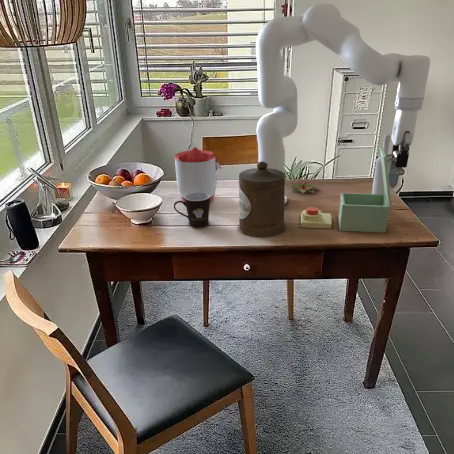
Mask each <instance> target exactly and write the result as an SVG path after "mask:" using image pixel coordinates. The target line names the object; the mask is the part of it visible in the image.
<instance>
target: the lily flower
mask: <svg viewBox="0 0 454 454" xmlns="http://www.w3.org/2000/svg"><path fill="white" fill-rule="evenodd" d="M298 180H299V181H300V182H298V183H293V185H291V186H290V187H289V189H291V192H301V194H304V193H305V192H308V193H313V194H314V193H315V191H314V190H318V188H317V187H316V185H315V184H309V183H310V181H309V179H308V178H306V179H305V180H303V179H302V180H301V179H300V178H298Z"/></svg>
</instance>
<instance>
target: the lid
mask: <svg viewBox="0 0 454 454" xmlns="http://www.w3.org/2000/svg"><path fill="white" fill-rule="evenodd" d="M378 149H379V157H380V158H381V166H382V175H383V183H384V192H385V195H386V198H387V201H388V204H389V206H390V207H391V206H392V204H393V203H392V196H391V187H390V186H391V185H390V176H389V177H388V168H387V162H389V161H391V162H393V161H396V159H397V154H398V153H399V151H394V153H392V152H391V153H388V155H385V153H384V151H383V146H379V147H378ZM391 156H394V157H395V158H392V157H391ZM387 157H389V158H390V159H386V158H387Z"/></svg>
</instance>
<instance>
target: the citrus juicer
mask: <svg viewBox="0 0 454 454" xmlns="http://www.w3.org/2000/svg"><path fill="white" fill-rule="evenodd" d="M173 159H174V162H175V163H174V165H175V177H176V185H177V189H178V192H179V195H180V198H181V200H182V201H183V202H185V198H184V196H185V195H186V194H188V193H192V192H205V193H208V194H210V202H212V201H213V200H214V198H215V194H216V190H217V182H218V181H217V180H218V178H217V177H218V175H217V173H218V172H217V171H218V169H219V170H222V169H223V168H222V165H221V164H220V162H218V161H217V156H215V152H214V151H211V150H204V149H199V148H198V147H196V146H194V147H192V148H191V149H190V150H184V151H181V152H178V153H175V155H174V157H173Z"/></svg>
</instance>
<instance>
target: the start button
mask: <svg viewBox="0 0 454 454" xmlns="http://www.w3.org/2000/svg"><path fill="white" fill-rule="evenodd" d="M306 210H307V214H308V215H317V214H318V210H319V208H318V207H315V206H309V207H307V208H306Z"/></svg>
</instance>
